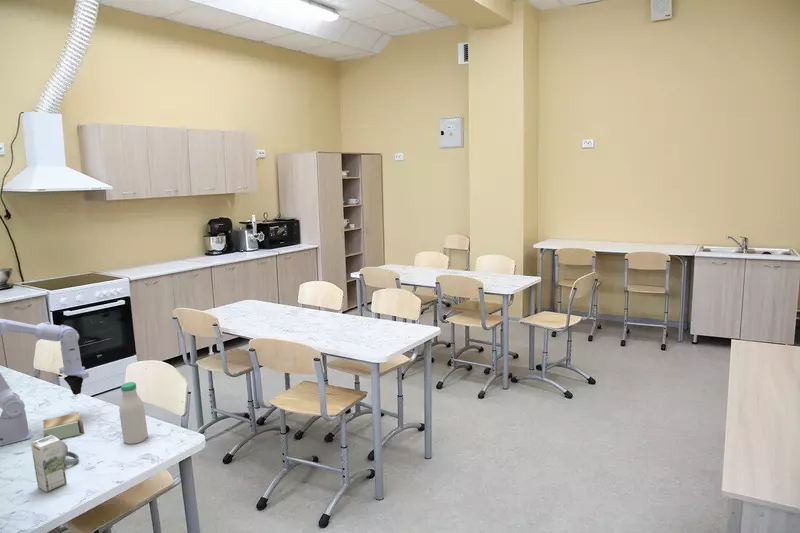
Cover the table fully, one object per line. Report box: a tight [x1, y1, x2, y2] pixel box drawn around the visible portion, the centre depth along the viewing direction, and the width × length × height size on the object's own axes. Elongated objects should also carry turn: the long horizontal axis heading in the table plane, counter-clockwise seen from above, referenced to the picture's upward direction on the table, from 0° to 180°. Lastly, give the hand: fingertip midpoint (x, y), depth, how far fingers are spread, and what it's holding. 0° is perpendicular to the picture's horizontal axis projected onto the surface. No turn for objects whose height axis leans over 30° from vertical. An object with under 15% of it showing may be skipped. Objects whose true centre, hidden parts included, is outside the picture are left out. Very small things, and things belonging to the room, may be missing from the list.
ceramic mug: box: [59, 439, 79, 466], centre depth 183 cm, size 11×8×8 cm
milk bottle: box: [119, 381, 148, 445], centre depth 197 cm, size 8×8×20 cm
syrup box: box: [30, 435, 67, 493], centre depth 171 cm, size 6×6×14 cm
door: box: [42, 421, 81, 440], centre depth 201 cm, size 10×2×5 cm, turn 121°
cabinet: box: [43, 411, 85, 435], centre depth 206 cm, size 12×9×5 cm
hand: (77, 393), depth 216 cm, fingers closed
